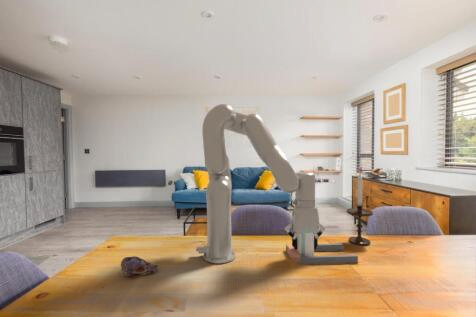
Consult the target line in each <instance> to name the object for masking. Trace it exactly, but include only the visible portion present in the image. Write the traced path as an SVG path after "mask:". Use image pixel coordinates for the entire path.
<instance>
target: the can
mask: <svg viewBox="0 0 476 317" xmlns="http://www.w3.org/2000/svg"><path fill="white" fill-rule="evenodd" d="M306 229H307V230H304V231H303V232H302V233H301V234H298V235H297V237H296V239H297V250H296V251H297V253H298V254H299V255H300V256H315V251H314V234H313V232H312V231H310V230H308V229H309V228H306Z"/></svg>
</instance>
